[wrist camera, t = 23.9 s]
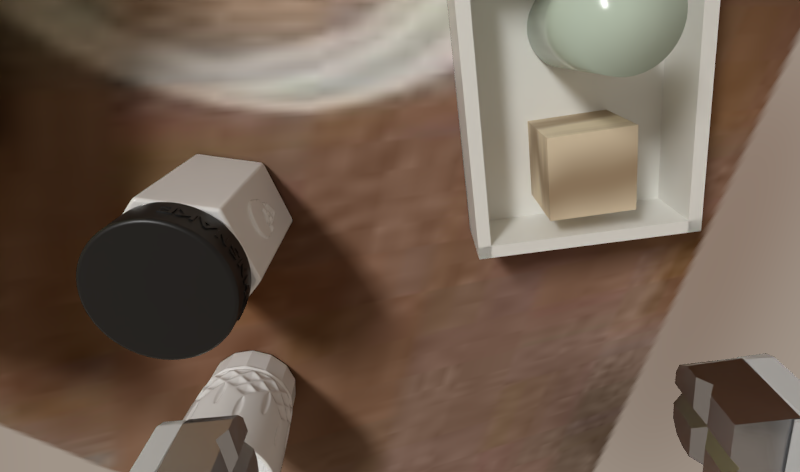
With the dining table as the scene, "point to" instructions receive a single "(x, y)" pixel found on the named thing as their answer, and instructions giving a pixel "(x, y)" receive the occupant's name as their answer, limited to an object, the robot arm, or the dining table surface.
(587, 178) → the beech cube
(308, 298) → the dining table surface
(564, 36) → the sage cylinder
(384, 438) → the dining table surface
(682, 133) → the tote
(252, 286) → the jar
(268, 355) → the white cup
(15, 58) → the dining table surface
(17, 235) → the dining table surface
